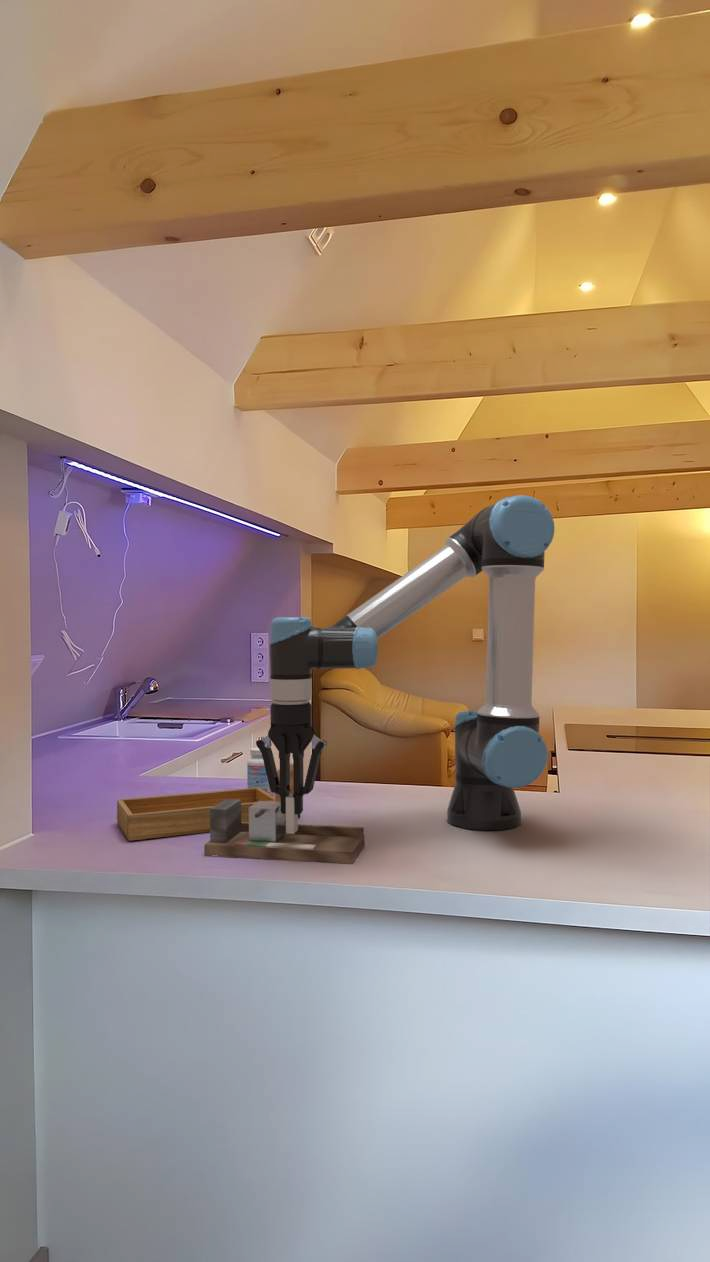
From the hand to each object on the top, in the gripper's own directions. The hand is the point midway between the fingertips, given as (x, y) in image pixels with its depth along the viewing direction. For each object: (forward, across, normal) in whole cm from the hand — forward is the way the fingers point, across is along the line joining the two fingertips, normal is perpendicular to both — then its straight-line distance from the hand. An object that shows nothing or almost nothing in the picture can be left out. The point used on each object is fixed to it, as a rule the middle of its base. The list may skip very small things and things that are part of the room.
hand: (291, 831), depth 141 cm
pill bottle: (+4, +21, -43) cm, 48 cm away
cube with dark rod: (+1, +5, +1) cm, 5 cm away
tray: (+4, +24, -15) cm, 29 cm away
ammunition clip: (+4, +7, -19) cm, 21 cm away
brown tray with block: (+4, +1, 0) cm, 4 cm away
